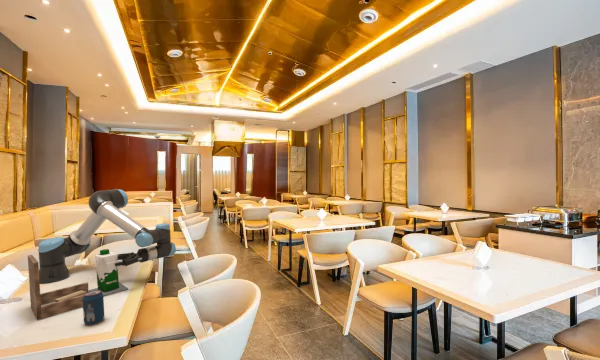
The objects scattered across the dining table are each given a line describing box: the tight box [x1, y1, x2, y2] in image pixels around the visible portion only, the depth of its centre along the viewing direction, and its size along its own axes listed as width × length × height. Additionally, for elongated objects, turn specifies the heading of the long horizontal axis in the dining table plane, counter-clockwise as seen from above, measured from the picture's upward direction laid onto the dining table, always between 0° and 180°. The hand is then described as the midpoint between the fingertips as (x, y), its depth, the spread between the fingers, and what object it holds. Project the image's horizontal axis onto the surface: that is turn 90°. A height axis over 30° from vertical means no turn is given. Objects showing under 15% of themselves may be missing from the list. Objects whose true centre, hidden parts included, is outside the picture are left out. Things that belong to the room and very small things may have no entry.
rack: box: [27, 254, 90, 321], centre depth 140 cm, size 22×20×24 cm
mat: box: [88, 282, 129, 298], centre depth 156 cm, size 14×14×1 cm
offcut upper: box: [54, 290, 86, 303], centre depth 140 cm, size 4×11×2 cm, turn 154°
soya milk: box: [94, 248, 120, 292], centre depth 156 cm, size 9×9×20 cm
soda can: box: [82, 290, 105, 326], centre depth 122 cm, size 7×7×12 cm
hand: (102, 263), depth 154 cm, fingers open, 13 cm apart
